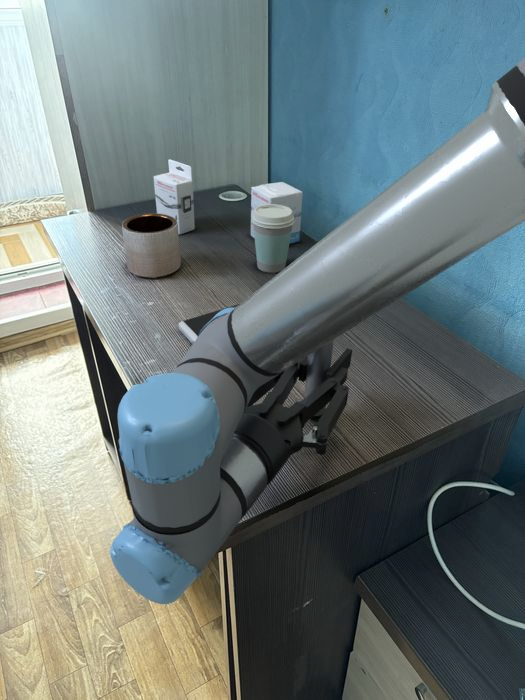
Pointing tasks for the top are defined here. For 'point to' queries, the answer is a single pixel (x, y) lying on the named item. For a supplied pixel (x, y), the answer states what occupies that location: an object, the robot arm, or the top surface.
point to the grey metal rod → (318, 371)
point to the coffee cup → (272, 236)
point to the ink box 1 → (176, 195)
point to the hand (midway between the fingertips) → (336, 353)
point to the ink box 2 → (279, 203)
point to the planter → (151, 245)
